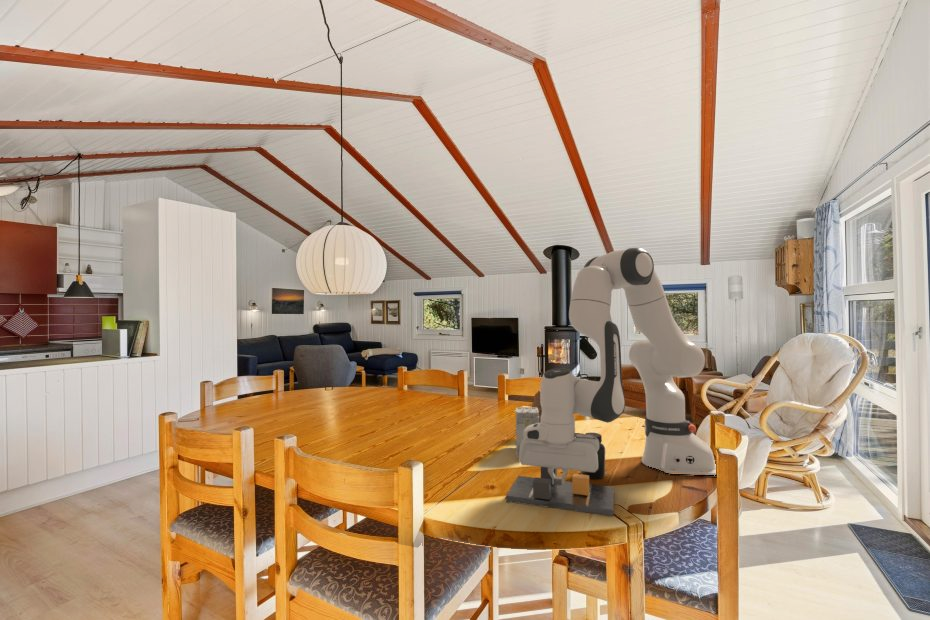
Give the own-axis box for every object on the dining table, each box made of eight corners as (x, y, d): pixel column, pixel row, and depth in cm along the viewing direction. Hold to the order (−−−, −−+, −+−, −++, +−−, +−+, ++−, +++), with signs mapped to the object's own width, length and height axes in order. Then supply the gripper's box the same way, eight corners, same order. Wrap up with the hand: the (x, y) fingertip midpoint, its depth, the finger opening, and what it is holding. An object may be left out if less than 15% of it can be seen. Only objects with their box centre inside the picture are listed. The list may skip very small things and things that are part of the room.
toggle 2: (551, 494, 111) (550, 479, 111) (549, 499, 109) (548, 483, 109) (535, 492, 113) (535, 477, 113) (533, 497, 110) (532, 481, 110)
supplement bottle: (582, 479, 126) (582, 437, 126) (579, 470, 133) (579, 431, 133) (607, 480, 125) (606, 438, 125) (603, 471, 132) (602, 431, 132)
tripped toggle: (589, 490, 113) (589, 475, 113) (588, 495, 111) (588, 479, 111) (573, 488, 115) (573, 473, 115) (572, 493, 112) (572, 477, 112)
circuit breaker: (536, 444, 159) (536, 403, 159) (539, 458, 144) (538, 412, 144) (516, 444, 159) (515, 403, 159) (516, 457, 145) (516, 412, 145)
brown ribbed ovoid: (544, 440, 163) (543, 392, 163) (527, 436, 169) (526, 390, 169) (557, 435, 170) (556, 389, 170) (540, 431, 175) (539, 386, 175)
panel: (614, 492, 117) (614, 486, 117) (613, 516, 103) (613, 508, 103) (518, 481, 125) (518, 475, 125) (506, 501, 112) (506, 494, 112)
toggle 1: (557, 478, 122) (556, 464, 122) (555, 482, 119) (555, 468, 119) (542, 477, 123) (542, 462, 123) (540, 481, 120) (540, 466, 120)
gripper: (599, 431, 114) (600, 484, 114) (522, 425, 121) (522, 475, 121) (598, 438, 108) (599, 494, 108) (517, 431, 115) (517, 484, 115)
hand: (558, 484), depth 114 cm, fingers closed
